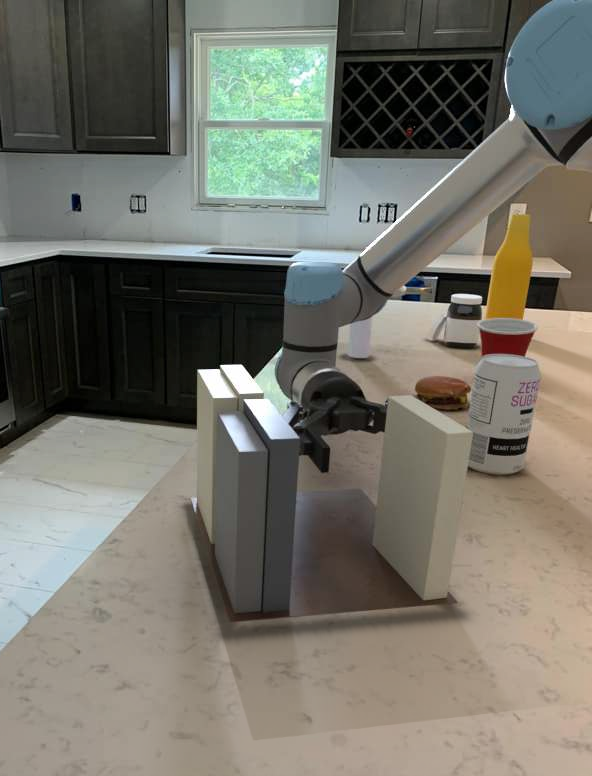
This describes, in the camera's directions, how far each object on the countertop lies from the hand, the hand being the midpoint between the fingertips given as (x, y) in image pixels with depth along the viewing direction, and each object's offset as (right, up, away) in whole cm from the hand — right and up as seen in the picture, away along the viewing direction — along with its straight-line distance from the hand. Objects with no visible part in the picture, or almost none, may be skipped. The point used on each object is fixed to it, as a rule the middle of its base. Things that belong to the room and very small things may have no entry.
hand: (389, 457), depth 75 cm
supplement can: (+20, -1, +27) cm, 33 cm away
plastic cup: (+35, +16, +67) cm, 77 cm away
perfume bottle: (+11, +24, +84) cm, 88 cm away
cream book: (+1, -11, -4) cm, 12 cm away
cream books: (-17, -7, +6) cm, 19 cm away
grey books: (-15, -12, -6) cm, 20 cm away
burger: (+21, +11, +54) cm, 59 cm away
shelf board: (-8, -10, +2) cm, 13 cm away
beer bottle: (+53, +35, +112) cm, 128 cm away
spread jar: (+36, +30, +100) cm, 110 cm away
